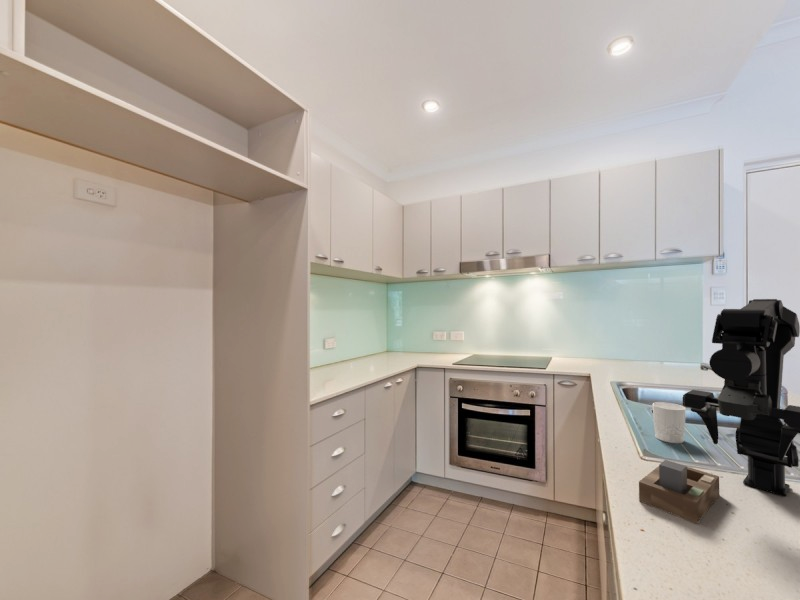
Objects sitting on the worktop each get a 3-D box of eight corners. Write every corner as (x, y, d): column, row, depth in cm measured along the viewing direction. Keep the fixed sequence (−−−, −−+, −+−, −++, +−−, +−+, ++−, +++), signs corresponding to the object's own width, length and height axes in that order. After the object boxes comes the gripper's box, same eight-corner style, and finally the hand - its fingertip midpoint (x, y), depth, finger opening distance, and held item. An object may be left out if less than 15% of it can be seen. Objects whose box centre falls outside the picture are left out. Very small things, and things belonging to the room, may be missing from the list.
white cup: (671, 433, 108) (670, 401, 108) (693, 444, 100) (692, 409, 100) (646, 434, 108) (646, 402, 108) (666, 444, 100) (666, 410, 100)
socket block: (666, 477, 81) (665, 459, 81) (719, 495, 74) (719, 474, 74) (639, 500, 72) (638, 480, 72) (697, 524, 64) (696, 500, 64)
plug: (665, 497, 73) (665, 459, 73) (687, 505, 70) (686, 466, 70) (659, 503, 71) (659, 464, 71) (681, 512, 68) (681, 471, 68)
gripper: (672, 370, 71) (673, 446, 71) (812, 388, 56) (814, 485, 56) (690, 363, 78) (692, 433, 78) (821, 378, 62) (823, 464, 62)
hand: (746, 451), depth 68 cm, fingers open, 9 cm apart
